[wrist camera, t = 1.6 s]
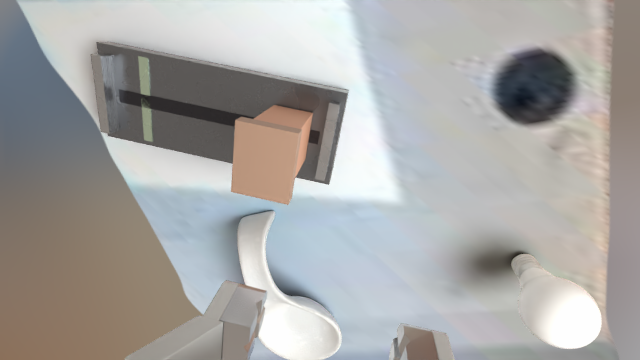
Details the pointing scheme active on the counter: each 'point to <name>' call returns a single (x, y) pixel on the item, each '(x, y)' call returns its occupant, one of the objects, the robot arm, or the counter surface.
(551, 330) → the lightbulb
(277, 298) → the spoon rest
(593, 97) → the counter surface
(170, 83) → the fader track
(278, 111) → the fader knob
